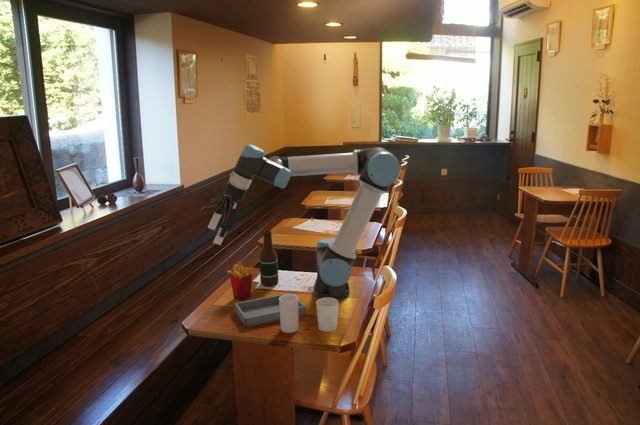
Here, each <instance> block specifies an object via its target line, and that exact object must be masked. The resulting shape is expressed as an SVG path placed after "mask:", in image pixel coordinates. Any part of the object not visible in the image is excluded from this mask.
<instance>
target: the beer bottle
mask: <svg viewBox="0 0 640 425" xmlns="http://www.w3.org/2000/svg"><path fill="white" fill-rule="evenodd" d="M262 234H263V248H262V251H261V252H260V254H259V275H260V278H259V280H260V285H261V286H263V287H265V288H266V287H267V288H272V287H275V286H277V285H278V284H279V263H278V262H279V261H278V260H279V259H278V254H277V252H276V250H275V249H274V247H273V238H272V234H273V232H272V230H270V229H268V230H267V229H266V230H264V231H263V232H262Z"/></svg>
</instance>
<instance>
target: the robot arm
mask: <svg viewBox="0 0 640 425" xmlns="http://www.w3.org/2000/svg"><path fill="white" fill-rule="evenodd" d="M400 165H401V164H400V162H399V160H398V158H397V157H396V156H395V155H394V154H393V153H392V152H390V151H388V150H387V149H386V148H383V147H376V146H375V147H370V148H361V149H354V150H353V151H352V152H344V153H341V152H340V153H327V154H314V155H298V156H283V157H280V156H275V155H274V156H272V157H270V158H266V157H265V151H264V150H263V149H261V148H260V147H258V146H256V145H253V144H249V143H248V144H246V145H245V146H244V147H243V149H242V152H241V153H240V155H239V157H238V159H237V162H236V164H235V166H234V169H233V170H232V172H230V174H229V178H228V181H227V183H226V184H225V187H224V193H223V195H222V196H221V198H220V199H219V200H218V201H217V203H216V205H215V206H214V213H213V215H212V217H211V220H210V221H209V224H208V225H207V228H208V229H210V230H213V231H215V230H216V228H217V226H218V224H219V222H220V219H221V218H222V215H223V214H224V215H223V220H222V224H221V225H219V229H218V231H217V234H216V235H215V237H214V240H213V244H216V245H219V246H221V245H222V242H223V241H224V239H225V237H226V235H227V232H228V231H231V230H232V227H233V224H234V221H235V217H236V214H237V210H238V208H239V207H240V206H239V205H240V204H239V203H238V200H243V199H244V198H245V195H246V193H247V190H248V189H249V188H250V185H251V183H252V181H253V179H254V177H256V178H259V179H261V180H263V181H265V182H267V183H269V184H270V185H274V186H275V187H278V188H280V189H285V188H286V187H287V185H288V183H289V181H290V179H291V177H298V176H314V175H315V176H316V175H329V174H331V175H332V174H343V173H348V174H349V173H353V174H355V175H359V177H358V182H359V184H360V185H359V188H358V190H357V192H356V193H355V195H354V198H353V200H352V201H351V204H350V206H349V209H348V211H347V212H346V215H345V217H344V220H343V222H342V224H341V225H340V227H339V231H338V232H337V235H336V237H335V238H324V239H320V240H318V241H317V242H316V247H315V248H316V273H317V274H316V278H315V282H314V284H313V286H312V287H313V288H312V290H313V291H312V292H313V296H314V297H316V298H317V299H321V298H327V297H328V298H334V299H337V300H338V301H340V300H344V299H345V298H348V297H349V295H350V293H351V292H350V290H351V289H350V285H349V282H348V281H350V278H351V276H352V267H353V265H354V262H355V260H356V258H357V255H356V249H357V246H358V244H359V243H360V240H361V238H362V236H363V234H364V232H365V230H366V228H367V226H368V224H369V222H370V220H371V218H372V215H373V213H374V211H375V209H376V207H377V205H378V203H379V201H380V198H381V197H382V195H384V194H386V193H388V192H389V189H390V187H391V185H392V184H394V183H395V182H396V181H397V180H398V178H399V176H400V174H401V173H400V172H401V166H400Z"/></svg>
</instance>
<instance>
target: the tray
mask: <svg viewBox="0 0 640 425" xmlns="http://www.w3.org/2000/svg"><path fill="white" fill-rule="evenodd" d="M286 294H294V293H293V292H288V293H282V294H277V295H272V296H266V297H262V298H261V297H260V298H256V299H250V300H245V301H239V302H236V303H235V302H234V313H236V315H237V316H238V318H239V320H240V321H241V322H242V324H243V326H244V327H245V328H250V327H256V326H261V325H264V324H270V323H273V322H279V321H280V306H279V297H280V296H282V295H286ZM306 315H307V306H306V305H305V304H304V303H303V301H301V300H300V299H299V298H298V318H299V317H303V316H304V317H305V316H306Z"/></svg>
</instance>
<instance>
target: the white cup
mask: <svg viewBox="0 0 640 425" xmlns="http://www.w3.org/2000/svg"><path fill="white" fill-rule="evenodd" d="M315 304H316V316H317V317H316V318H317V325H318V330H320V331H321V332H326V333H327V332H328V333H330V332H335V331H336V330H337V329H338V320H339V300H337V299H334V298H328V297H327V298H321V299H319V298H317V300H316V302H315Z"/></svg>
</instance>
